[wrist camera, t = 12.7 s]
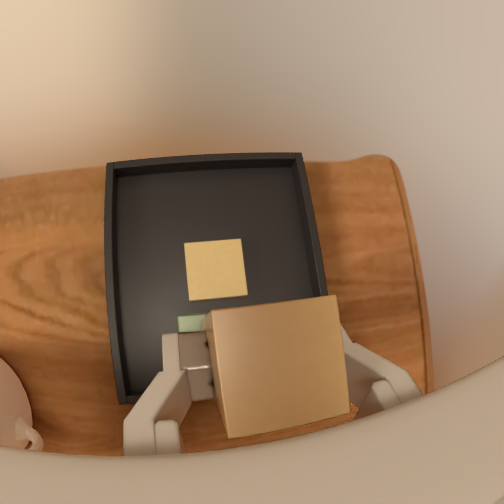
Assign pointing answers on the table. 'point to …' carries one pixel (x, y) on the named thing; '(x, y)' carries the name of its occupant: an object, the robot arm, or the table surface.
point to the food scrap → (215, 270)
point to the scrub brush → (275, 363)
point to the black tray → (199, 230)
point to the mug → (15, 412)
